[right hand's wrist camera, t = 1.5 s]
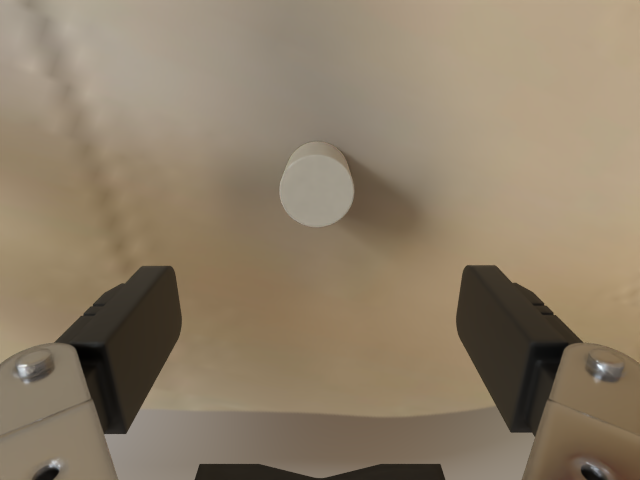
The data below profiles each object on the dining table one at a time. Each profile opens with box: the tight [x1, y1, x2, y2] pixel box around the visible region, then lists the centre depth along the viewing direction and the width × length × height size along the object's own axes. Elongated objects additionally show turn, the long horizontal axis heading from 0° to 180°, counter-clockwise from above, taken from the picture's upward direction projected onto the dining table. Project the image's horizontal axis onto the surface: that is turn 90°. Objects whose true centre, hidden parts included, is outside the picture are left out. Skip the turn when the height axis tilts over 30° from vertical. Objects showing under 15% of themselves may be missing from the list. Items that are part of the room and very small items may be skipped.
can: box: [279, 141, 354, 227], centre depth 23 cm, size 4×4×5 cm
